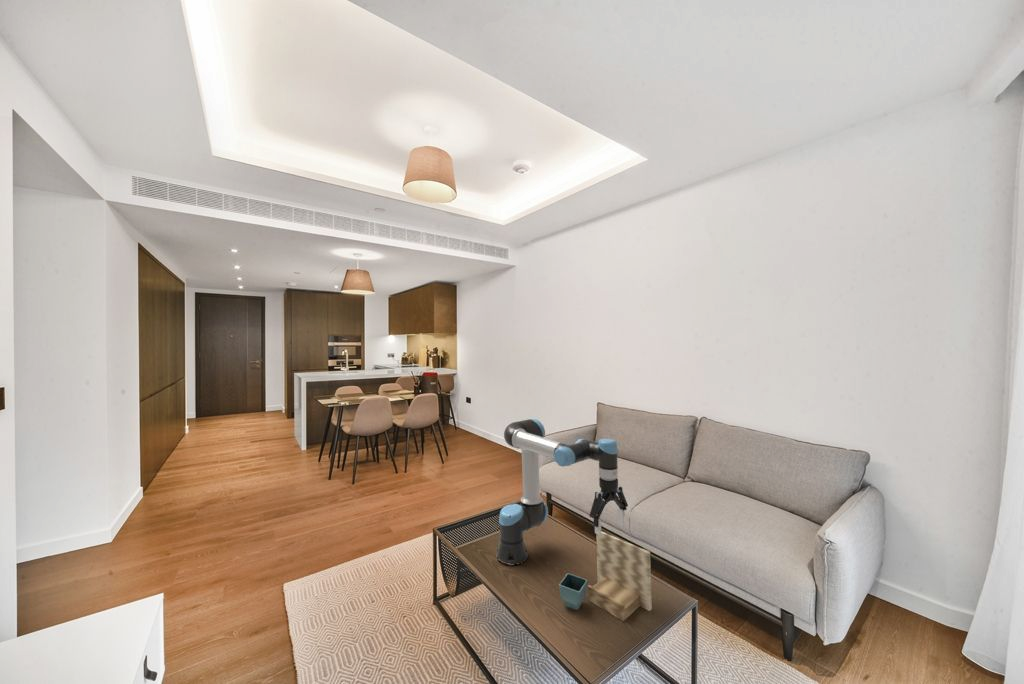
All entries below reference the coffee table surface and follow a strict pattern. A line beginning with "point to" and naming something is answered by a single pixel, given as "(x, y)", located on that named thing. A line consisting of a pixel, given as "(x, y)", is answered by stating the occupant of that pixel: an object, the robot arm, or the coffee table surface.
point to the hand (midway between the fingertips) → (609, 529)
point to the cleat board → (621, 577)
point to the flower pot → (573, 590)
